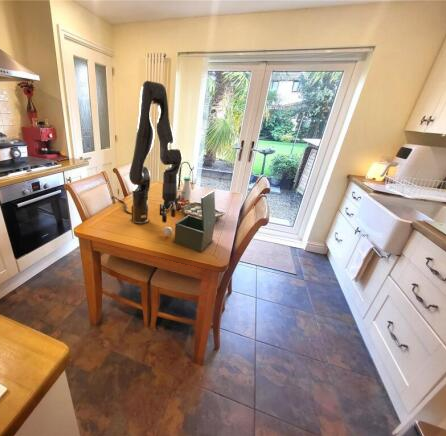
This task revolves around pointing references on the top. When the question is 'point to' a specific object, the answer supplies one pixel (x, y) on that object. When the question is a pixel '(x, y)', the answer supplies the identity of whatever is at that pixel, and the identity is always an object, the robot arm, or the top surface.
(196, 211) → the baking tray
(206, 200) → the bin lid
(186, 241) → the bin
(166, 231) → the paper ball
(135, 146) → the robot arm
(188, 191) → the milk bottle
